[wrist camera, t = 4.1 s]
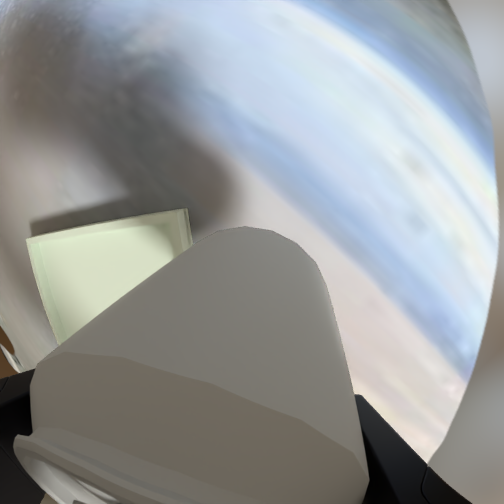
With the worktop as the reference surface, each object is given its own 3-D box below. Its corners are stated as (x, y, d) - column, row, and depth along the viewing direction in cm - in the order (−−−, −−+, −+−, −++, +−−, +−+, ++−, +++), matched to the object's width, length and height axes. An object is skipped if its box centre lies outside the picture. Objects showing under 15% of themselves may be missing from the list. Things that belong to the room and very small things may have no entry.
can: (238, 378, 15) (176, 572, 4) (152, 279, 14) (-26, 431, 3) (354, 315, 13) (421, 558, 2) (265, 190, 12) (21, 317, 1)
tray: (224, 396, 24) (219, 411, 22) (86, 377, 26) (78, 386, 24) (187, 207, 19) (176, 211, 18) (39, 234, 22) (25, 239, 20)
